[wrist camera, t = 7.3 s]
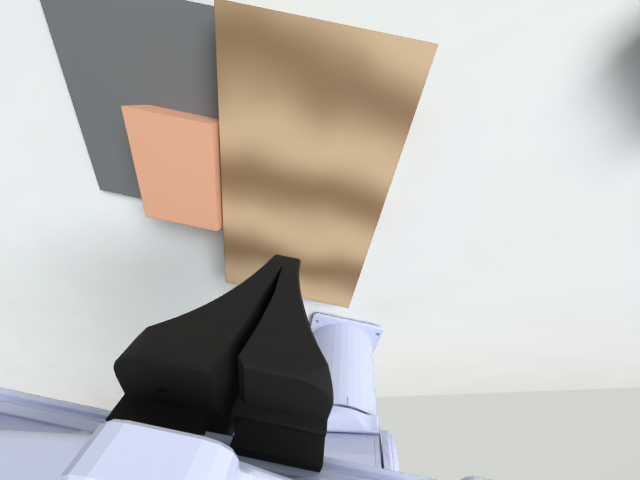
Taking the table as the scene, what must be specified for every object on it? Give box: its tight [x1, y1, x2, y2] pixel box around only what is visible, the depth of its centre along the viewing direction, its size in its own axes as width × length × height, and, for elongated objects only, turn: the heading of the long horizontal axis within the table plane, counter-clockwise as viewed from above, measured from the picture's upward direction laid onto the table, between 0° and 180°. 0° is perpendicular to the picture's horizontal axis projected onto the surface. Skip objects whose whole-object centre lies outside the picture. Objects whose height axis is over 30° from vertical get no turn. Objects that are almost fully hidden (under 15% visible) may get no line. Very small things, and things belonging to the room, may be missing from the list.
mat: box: [40, 0, 219, 198], centre depth 18 cm, size 14×12×1 cm
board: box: [214, 0, 438, 308], centre depth 19 cm, size 20×12×2 cm, turn 170°
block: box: [121, 105, 223, 232], centre depth 19 cm, size 8×6×2 cm
